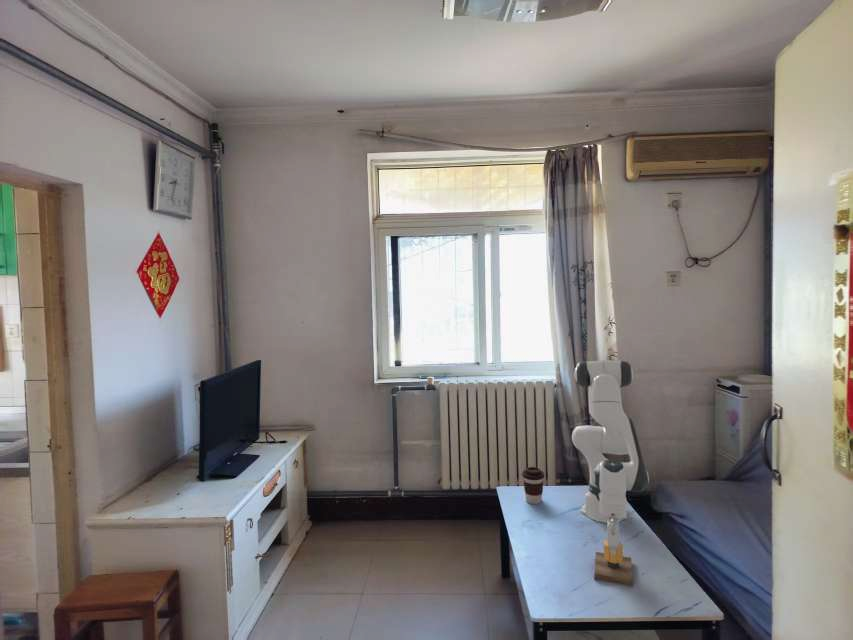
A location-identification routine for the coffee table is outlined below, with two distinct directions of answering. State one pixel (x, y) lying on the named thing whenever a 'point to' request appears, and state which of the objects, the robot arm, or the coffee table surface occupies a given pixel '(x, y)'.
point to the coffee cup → (533, 484)
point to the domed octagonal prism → (611, 557)
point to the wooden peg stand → (613, 570)
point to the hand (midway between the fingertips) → (613, 545)
